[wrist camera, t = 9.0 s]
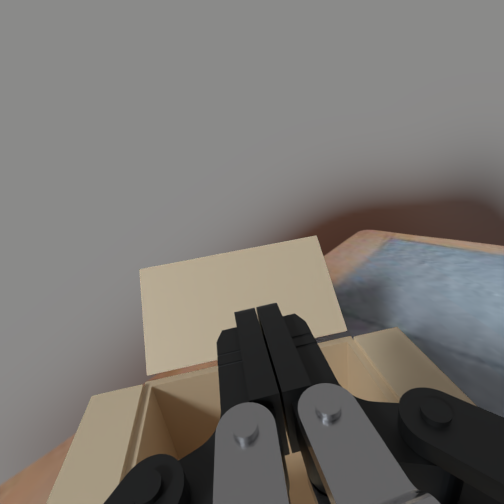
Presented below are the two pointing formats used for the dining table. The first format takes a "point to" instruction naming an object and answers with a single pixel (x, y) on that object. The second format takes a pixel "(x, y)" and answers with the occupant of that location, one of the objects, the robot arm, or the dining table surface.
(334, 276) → the dining table surface
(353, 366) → the carton
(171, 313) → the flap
